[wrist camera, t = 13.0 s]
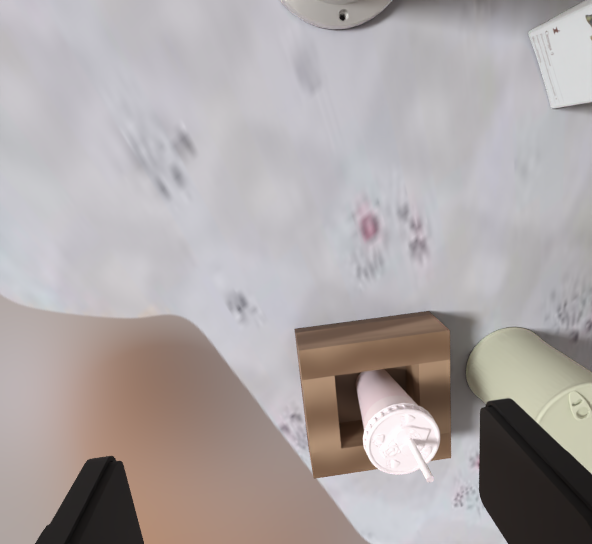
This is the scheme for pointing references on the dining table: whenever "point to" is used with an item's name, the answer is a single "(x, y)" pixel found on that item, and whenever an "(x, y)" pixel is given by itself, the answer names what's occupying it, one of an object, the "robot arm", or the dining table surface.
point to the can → (536, 385)
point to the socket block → (366, 357)
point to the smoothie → (395, 426)
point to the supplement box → (566, 55)
